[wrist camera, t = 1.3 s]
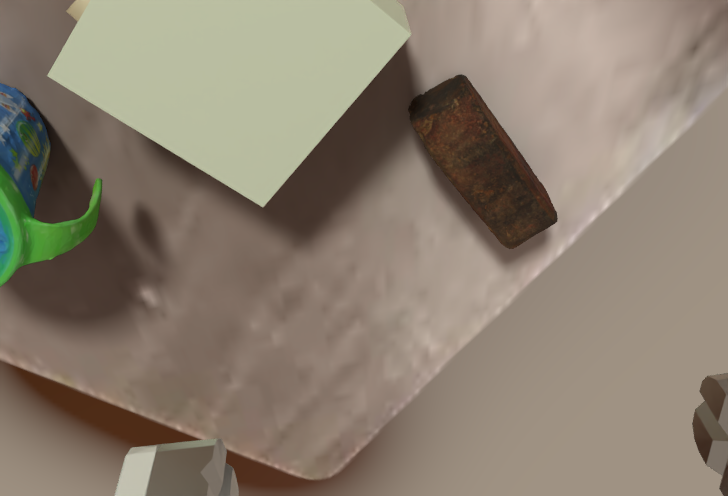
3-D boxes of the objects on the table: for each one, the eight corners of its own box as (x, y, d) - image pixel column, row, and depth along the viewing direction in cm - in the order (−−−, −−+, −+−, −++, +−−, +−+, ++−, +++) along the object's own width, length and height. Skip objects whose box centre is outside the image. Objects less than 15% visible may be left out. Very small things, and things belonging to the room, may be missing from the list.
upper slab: (195, -169, 29) (179, -157, 26) (403, 6, 34) (411, 34, 31) (72, 44, 35) (47, 75, 31) (267, 169, 40) (263, 207, 36)
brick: (544, 182, 45) (564, 222, 41) (493, 213, 47) (508, 255, 43) (459, 62, 40) (472, 95, 36) (404, 101, 41) (412, 137, 38)
